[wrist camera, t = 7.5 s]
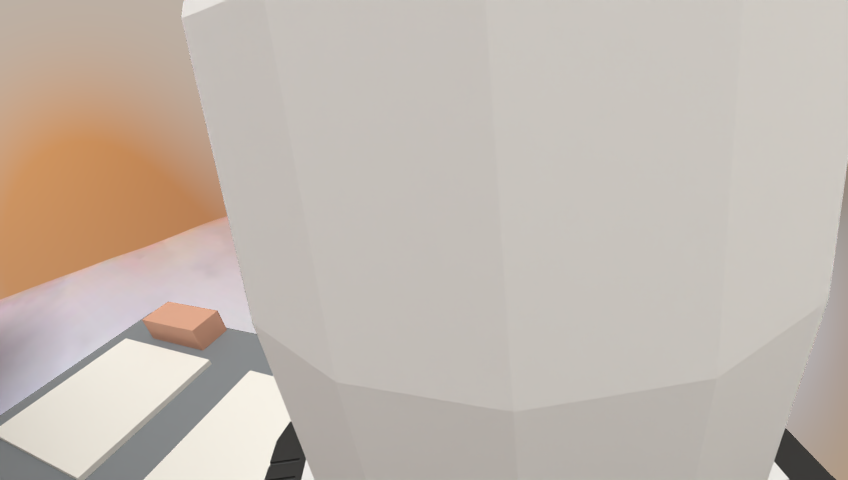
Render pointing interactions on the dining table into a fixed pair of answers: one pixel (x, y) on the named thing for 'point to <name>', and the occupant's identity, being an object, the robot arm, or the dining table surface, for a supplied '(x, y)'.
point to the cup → (531, 225)
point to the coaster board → (152, 408)
